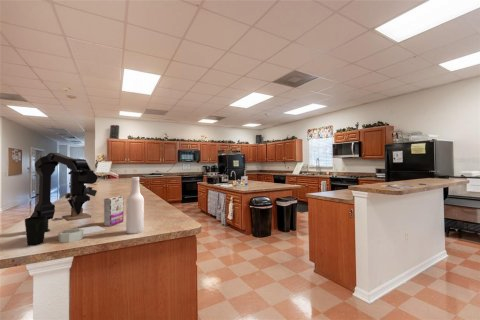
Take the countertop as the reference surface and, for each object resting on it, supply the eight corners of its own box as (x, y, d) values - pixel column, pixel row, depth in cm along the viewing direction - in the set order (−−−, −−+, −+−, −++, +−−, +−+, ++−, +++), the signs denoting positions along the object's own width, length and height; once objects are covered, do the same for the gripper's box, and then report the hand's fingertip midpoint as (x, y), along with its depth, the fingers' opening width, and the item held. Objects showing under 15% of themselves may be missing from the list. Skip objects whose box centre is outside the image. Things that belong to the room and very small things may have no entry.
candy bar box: (117, 221, 146) (117, 196, 147) (123, 221, 145) (123, 196, 146) (103, 225, 135) (103, 198, 136) (110, 226, 134) (110, 198, 135)
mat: (72, 230, 125) (72, 229, 125) (96, 226, 135) (96, 225, 135) (80, 235, 117) (80, 234, 117) (106, 230, 126) (106, 229, 126)
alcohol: (144, 232, 122) (145, 177, 123) (126, 235, 118) (127, 177, 118) (142, 228, 130) (143, 176, 130) (125, 230, 125) (126, 177, 126)
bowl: (56, 240, 110) (57, 231, 110) (78, 235, 117) (78, 227, 117) (62, 244, 104) (62, 235, 105) (84, 239, 112) (85, 230, 112)
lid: (62, 217, 115) (62, 207, 115) (84, 214, 122) (85, 205, 123) (67, 221, 108) (67, 210, 108) (91, 217, 116) (91, 207, 116)
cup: (33, 241, 108) (34, 216, 109) (50, 240, 109) (50, 215, 109) (19, 247, 101) (19, 220, 101) (37, 246, 101) (38, 219, 102)
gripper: (101, 183, 116) (101, 213, 116) (89, 181, 128) (88, 208, 128) (75, 184, 107) (75, 217, 107) (65, 182, 119) (64, 212, 119)
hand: (76, 213), depth 115 cm, fingers closed on lid, 4 cm apart
